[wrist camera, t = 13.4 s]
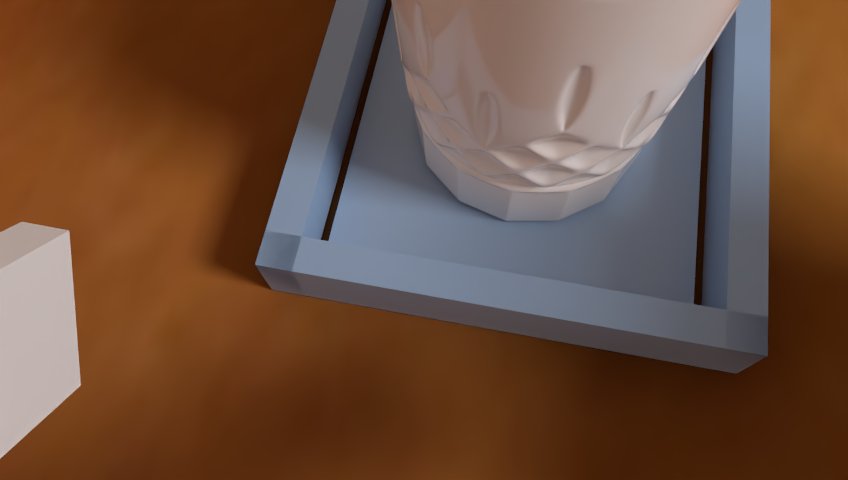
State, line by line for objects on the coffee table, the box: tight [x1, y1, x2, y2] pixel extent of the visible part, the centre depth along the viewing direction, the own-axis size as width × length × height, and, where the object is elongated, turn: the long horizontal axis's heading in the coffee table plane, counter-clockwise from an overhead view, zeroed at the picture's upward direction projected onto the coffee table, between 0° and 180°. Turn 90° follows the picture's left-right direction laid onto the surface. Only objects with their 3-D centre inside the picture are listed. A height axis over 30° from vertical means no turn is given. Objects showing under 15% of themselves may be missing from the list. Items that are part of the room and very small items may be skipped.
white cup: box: [391, 0, 742, 221], centre depth 17 cm, size 8×8×10 cm
